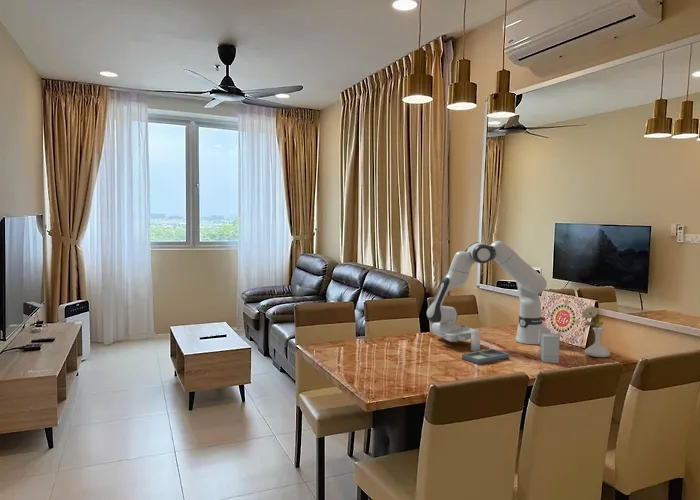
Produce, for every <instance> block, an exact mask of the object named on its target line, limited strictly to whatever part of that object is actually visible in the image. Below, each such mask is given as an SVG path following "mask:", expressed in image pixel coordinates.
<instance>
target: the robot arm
mask: <svg viewBox="0 0 700 500" xmlns="http://www.w3.org/2000/svg"><path fill="white" fill-rule="evenodd" d="M492 260H493V261H494V262H496V263H497V265H499V267H500V268H502V269H503V271H504V272H505V273H507V274H508V275H509V276H510V277H512V278H513V279H514V280H515V283H516V287H517V293H518V297H519V315H518V323H517V331H516V336H515V341H516V342H518V343H521V344H526V345H538V346H540V344H541V333H552V332H551V329H549V327H547V326H546V325H545V324H544V322H546V320H547V318H546V317H545V316H542V313H541V312H542V301H541V300H540V295H539V294H540V293H543V292H544V291H546V288H547V287H548V286H547V285H548V284H547V280H546V279H545V277H544V276H543V275H542V274H540V273H539V272H538V271H537V270H536V269H534V268H533V267H532V266H531V265H529V264H528V263H527V262H526V261H525V260H524V259H523V258H522V257H521V256H520V255H519V254H518V253H516V252H515V251H514V250H513V248H511V247H510V246H509V245H508V244H506V243H505V242H503V241H502V240H496V241H493V242H492V243H491V244H489V245H488V244H486V243H483V242H473V243H471V244H470V245H469V246H468V247H467V249H465V250H460V251H457V252H455V254H454V256H453V258H452V261H451V264H450V266H449V269H448V271H447V273H446V274H445V276H444V277H443V278H442V279H441V280H440V282H439V284H438V286H437V288H436V291H435V293H434V296H433V298H432V300H431V302H430V304H429V306H428V307H427V309H426V317H427V320H428V321H429V322H430V323H432V324H431V331H432V334H434V335H435V336H437V337H439V338H442V339H444V340H446V341H448V342H455V343H457V342H459V341H461V342H466V341H468V340H471V331H472V330H473V329H474V328H472V327H468V325H458V324H457V320H458V312H457V310H456V309H457V308H455V307H453V306H448V305H443V303H444V301H445V298H446V295H447V294H448V292H450V291H451V290H453V289H456V288H459V287H462V286H463V285H465V284H466V283H467V281H468V278H469V276H470V272H471V268H472V267H473V265H474V264H475V263H478V264H482V265H483V264H486V263H489V262H491V261H492ZM543 321H544V322H543Z"/></svg>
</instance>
